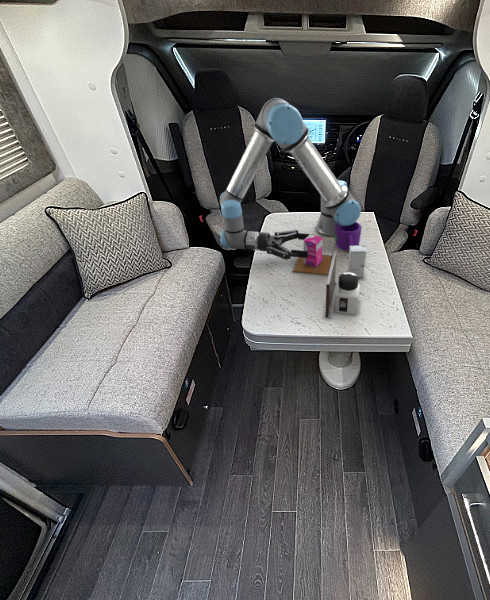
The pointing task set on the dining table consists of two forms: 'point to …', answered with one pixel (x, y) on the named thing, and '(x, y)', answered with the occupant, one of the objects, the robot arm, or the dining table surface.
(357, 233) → the mug
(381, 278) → the dining table surface
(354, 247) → the cosmetic box
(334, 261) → the backboard
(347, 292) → the container
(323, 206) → the robot arm
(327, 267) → the cork mat
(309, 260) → the supplement box
